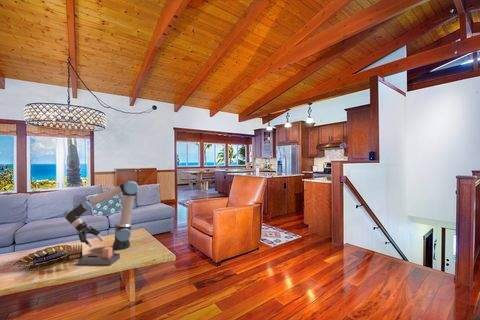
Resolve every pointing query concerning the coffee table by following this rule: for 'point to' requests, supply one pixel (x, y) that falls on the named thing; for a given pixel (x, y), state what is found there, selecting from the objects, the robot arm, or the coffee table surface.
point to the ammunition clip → (74, 253)
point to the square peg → (107, 252)
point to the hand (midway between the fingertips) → (97, 243)
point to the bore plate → (98, 259)
